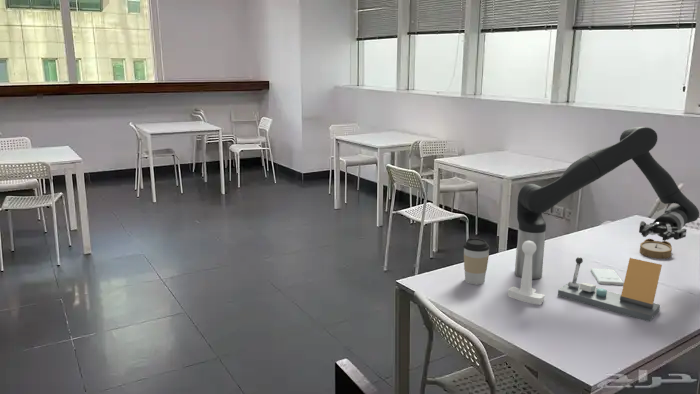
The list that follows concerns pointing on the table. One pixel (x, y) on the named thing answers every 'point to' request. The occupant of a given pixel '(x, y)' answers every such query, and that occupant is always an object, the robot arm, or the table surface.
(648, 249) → the alarm clock
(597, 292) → the push button
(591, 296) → the panel
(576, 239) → the table surface
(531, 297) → the joystick
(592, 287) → the block
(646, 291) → the tan flat slab
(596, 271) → the external hard drive
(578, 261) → the toggle lever
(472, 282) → the coffee cup
